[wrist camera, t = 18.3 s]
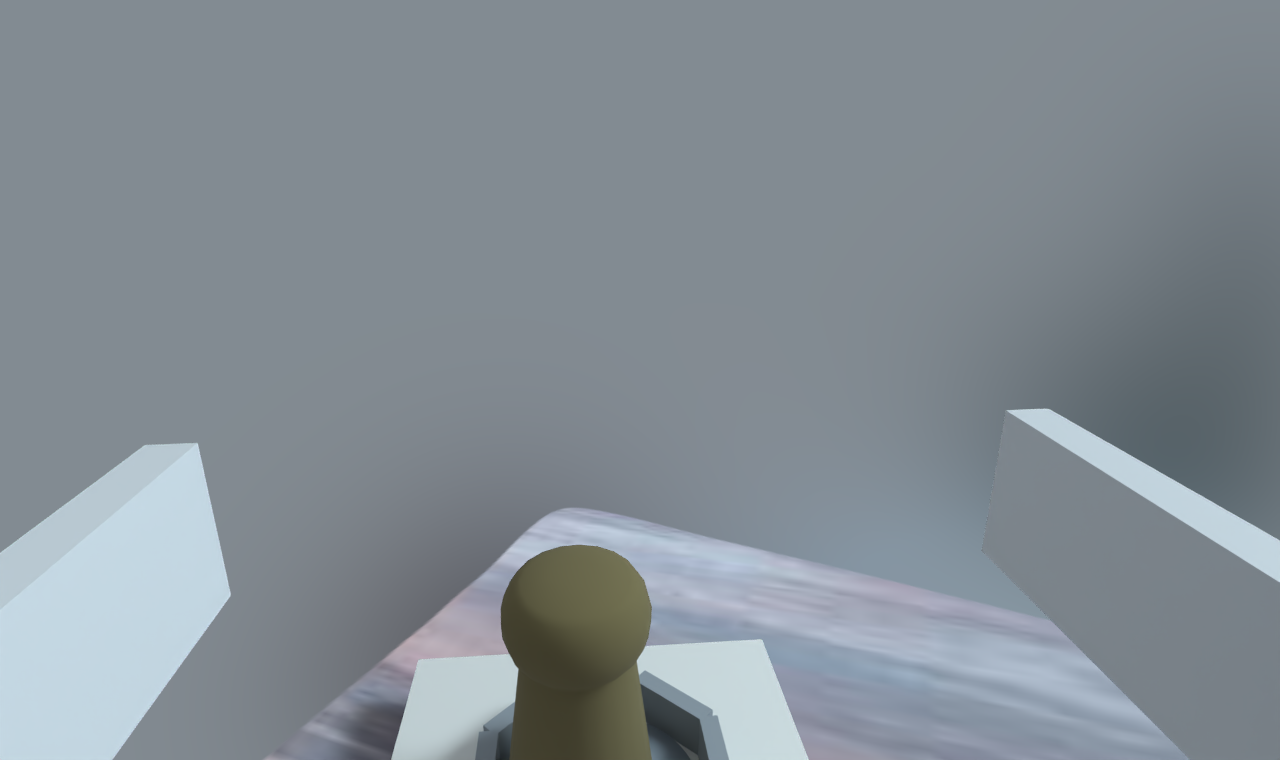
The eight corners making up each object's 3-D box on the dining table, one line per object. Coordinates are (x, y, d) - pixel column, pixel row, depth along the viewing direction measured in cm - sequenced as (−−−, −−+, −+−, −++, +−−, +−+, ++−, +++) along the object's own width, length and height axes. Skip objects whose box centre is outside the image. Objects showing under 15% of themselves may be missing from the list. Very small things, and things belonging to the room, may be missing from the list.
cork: (493, 874, 26) (468, 639, 22) (515, 732, 31) (499, 521, 27) (661, 871, 26) (670, 637, 22) (654, 730, 32) (660, 520, 27)
